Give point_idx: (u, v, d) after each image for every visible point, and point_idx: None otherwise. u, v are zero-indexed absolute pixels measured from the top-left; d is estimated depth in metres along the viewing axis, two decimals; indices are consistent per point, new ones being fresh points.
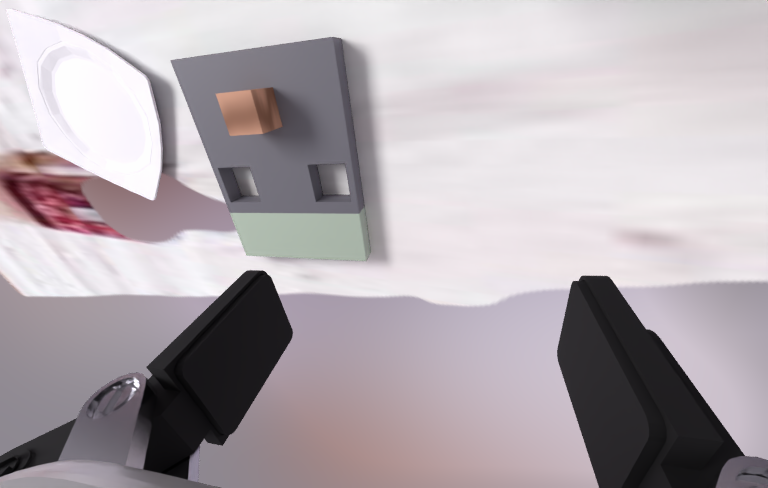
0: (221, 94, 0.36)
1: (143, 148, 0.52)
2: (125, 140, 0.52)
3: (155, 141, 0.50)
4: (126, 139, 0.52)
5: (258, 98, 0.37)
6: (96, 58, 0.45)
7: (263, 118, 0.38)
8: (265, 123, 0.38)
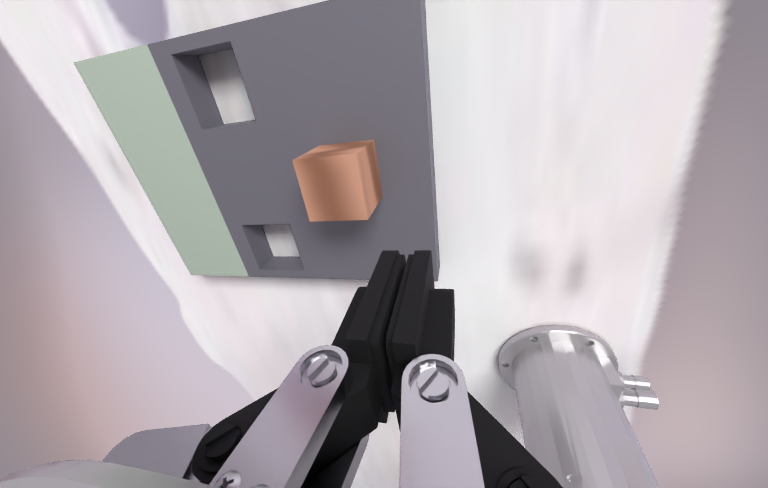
0: (356, 166, 0.21)
1: None
2: None
3: None
4: None
5: None
6: None
7: None
8: None
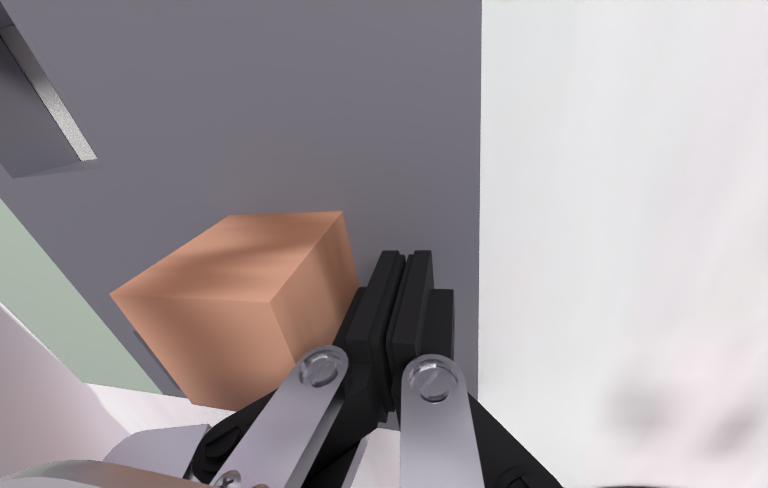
0: (274, 327, 0.07)
1: None
2: None
3: None
4: None
5: None
6: None
7: None
8: None
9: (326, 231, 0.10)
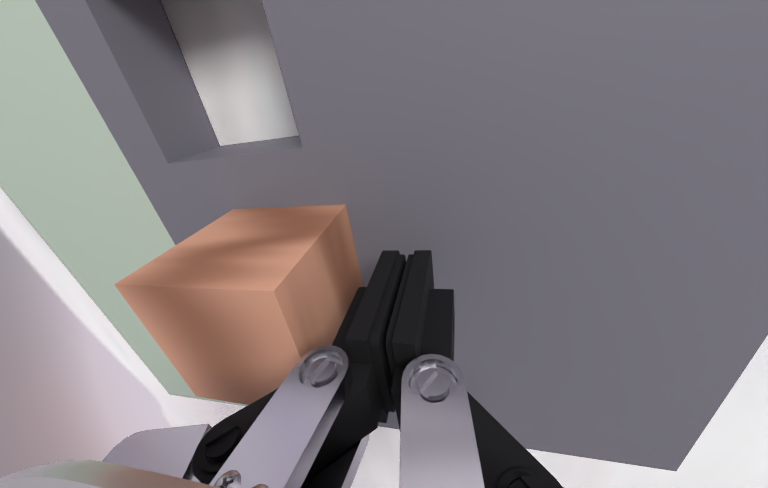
0: (279, 317, 0.07)
1: None
2: None
3: None
4: None
5: None
6: None
7: None
8: None
9: (329, 223, 0.10)
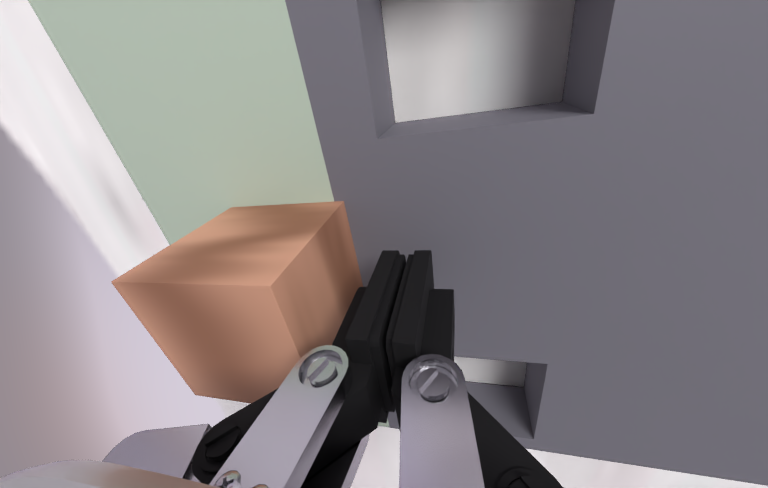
0: (276, 312, 0.07)
1: None
2: None
3: None
4: None
5: None
6: None
7: None
8: None
9: (327, 220, 0.10)
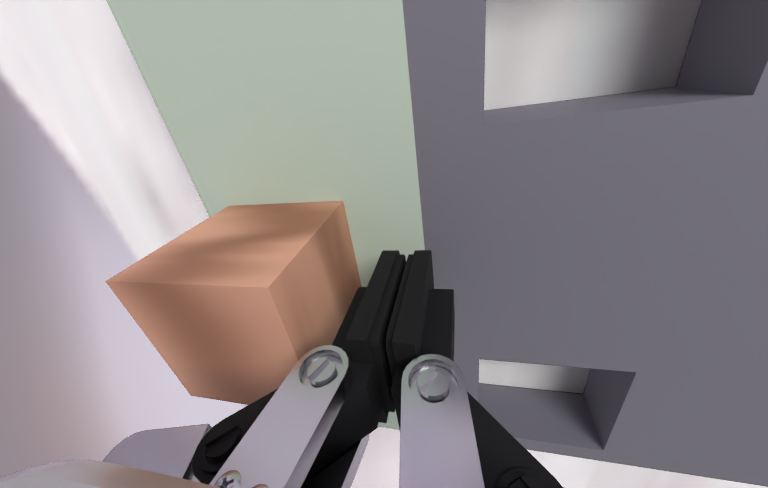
0: (273, 314, 0.07)
1: None
2: None
3: None
4: None
5: None
6: None
7: None
8: None
9: (326, 220, 0.09)
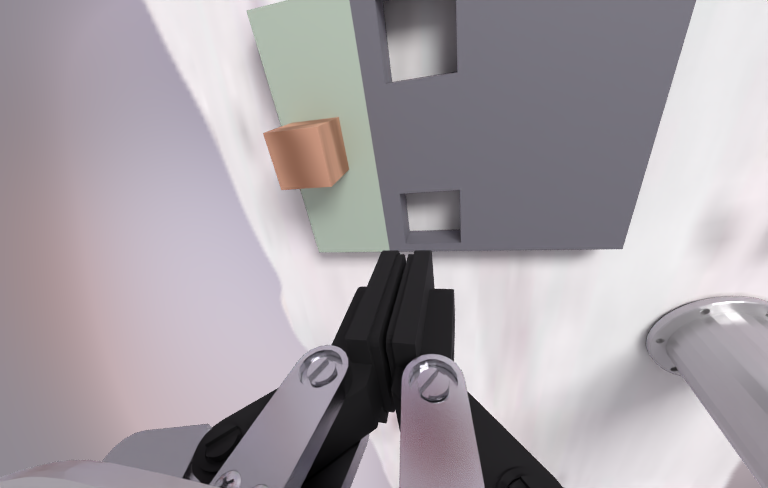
0: (318, 137, 0.24)
1: None
2: None
3: None
4: None
5: None
6: None
7: None
8: None
9: (332, 119, 0.26)
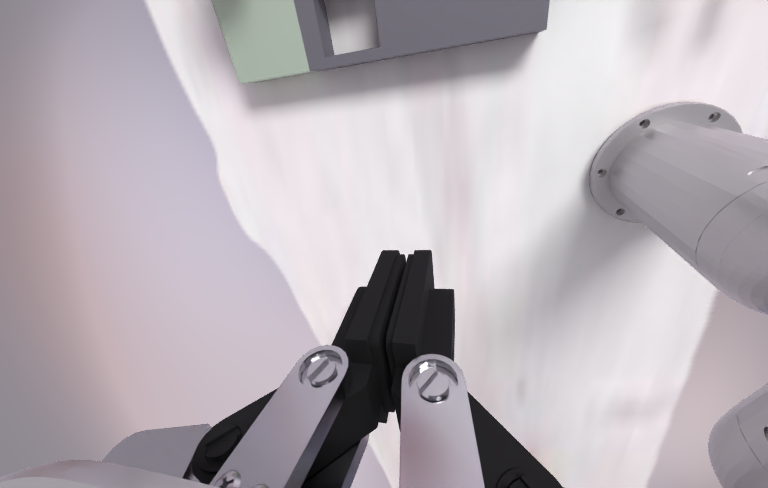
0: None
1: None
2: None
3: None
4: None
5: None
6: None
7: None
8: None
9: None
